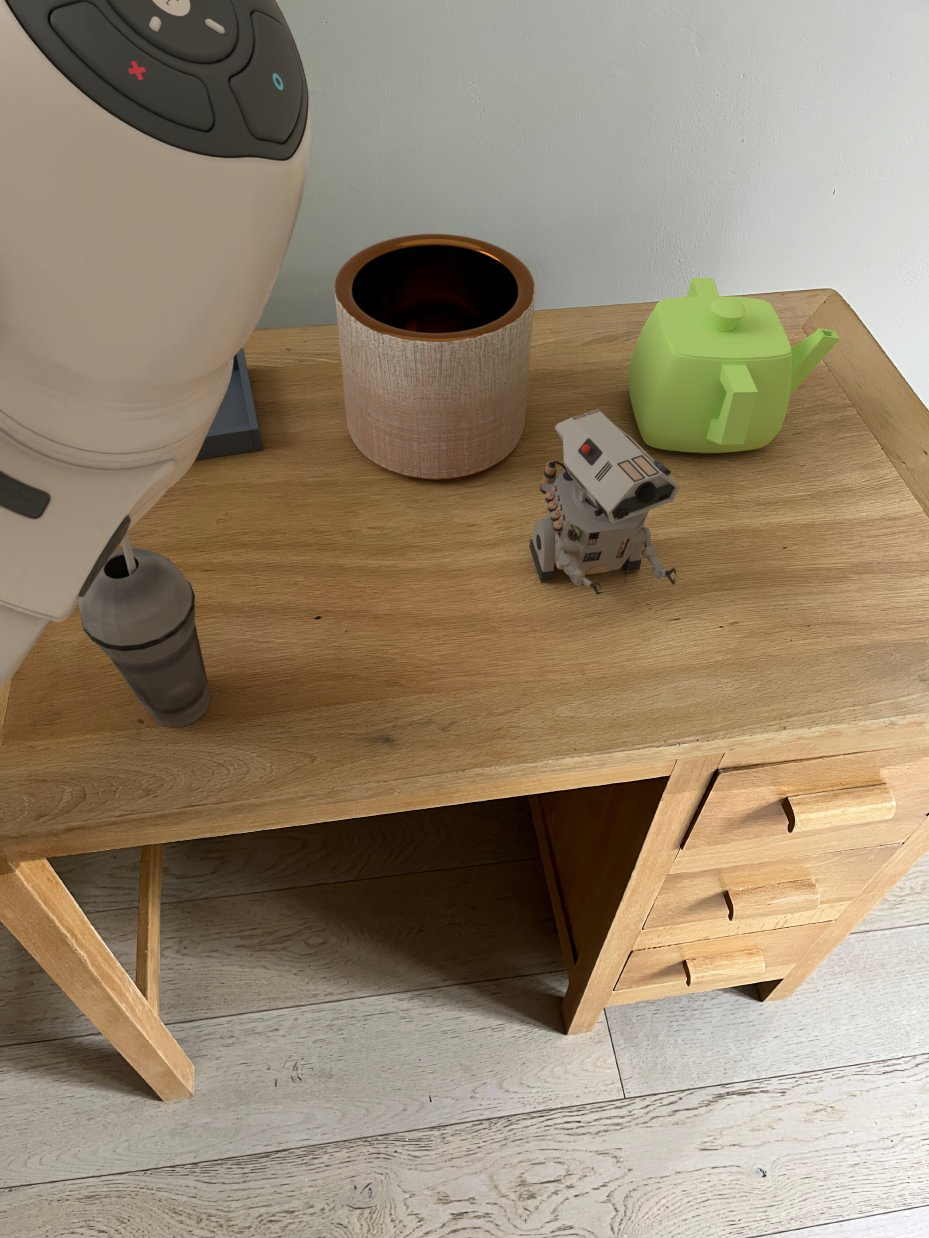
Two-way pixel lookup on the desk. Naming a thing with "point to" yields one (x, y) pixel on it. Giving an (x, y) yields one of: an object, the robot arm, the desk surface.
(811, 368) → the teapot
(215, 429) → the tray
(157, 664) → the beverage cup
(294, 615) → the desk surface
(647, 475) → the figurine
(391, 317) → the planter
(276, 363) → the desk surface
